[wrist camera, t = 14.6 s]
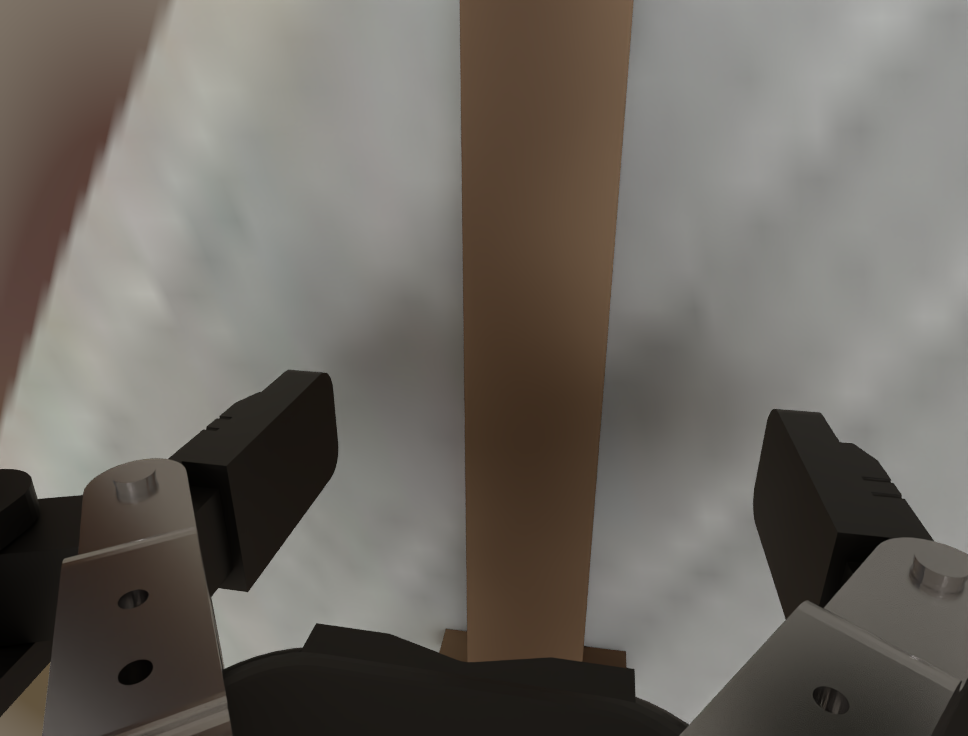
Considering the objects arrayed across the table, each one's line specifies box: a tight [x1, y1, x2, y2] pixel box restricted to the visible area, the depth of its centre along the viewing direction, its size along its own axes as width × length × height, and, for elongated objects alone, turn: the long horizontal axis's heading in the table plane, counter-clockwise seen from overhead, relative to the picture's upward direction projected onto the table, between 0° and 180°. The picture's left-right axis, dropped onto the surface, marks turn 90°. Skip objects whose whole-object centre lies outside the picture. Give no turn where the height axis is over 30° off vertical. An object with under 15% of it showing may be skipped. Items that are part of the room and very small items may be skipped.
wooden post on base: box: [439, 0, 633, 668], centre depth 17 cm, size 6×20×4 cm, turn 0°
